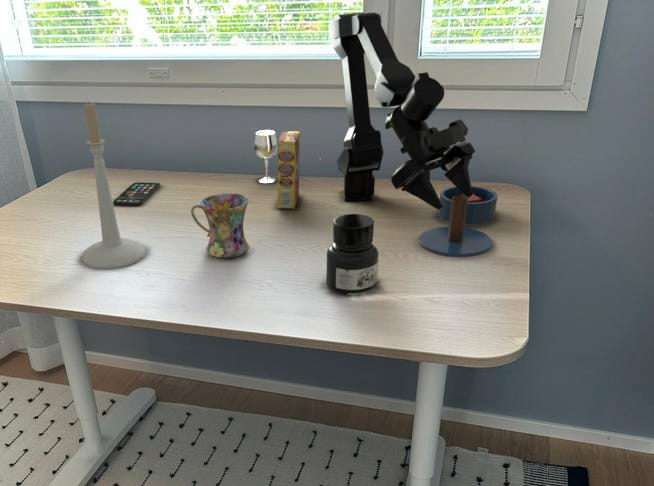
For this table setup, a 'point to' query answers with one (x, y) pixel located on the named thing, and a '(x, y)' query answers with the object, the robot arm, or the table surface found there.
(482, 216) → the tin
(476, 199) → the block
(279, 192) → the candy box
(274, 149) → the wineglass
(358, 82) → the robot arm
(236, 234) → the mug
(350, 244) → the ink bottle
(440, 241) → the tin lid
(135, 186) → the smartphone
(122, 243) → the candlestick
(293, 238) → the table surface
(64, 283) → the table surface
